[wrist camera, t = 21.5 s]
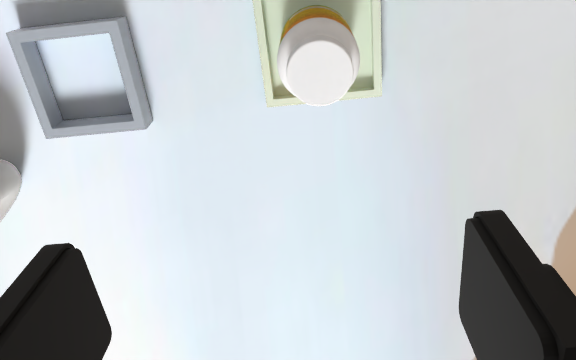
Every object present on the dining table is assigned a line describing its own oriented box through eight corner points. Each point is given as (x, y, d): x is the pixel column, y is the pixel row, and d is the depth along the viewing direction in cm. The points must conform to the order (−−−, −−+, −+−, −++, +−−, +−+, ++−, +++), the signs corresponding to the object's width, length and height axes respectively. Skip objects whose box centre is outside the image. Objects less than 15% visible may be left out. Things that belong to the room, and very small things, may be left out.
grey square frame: (20, 28, 36) (5, 32, 35) (125, 16, 36) (116, 20, 34) (57, 129, 40) (46, 138, 39) (153, 120, 40) (146, 129, 38)
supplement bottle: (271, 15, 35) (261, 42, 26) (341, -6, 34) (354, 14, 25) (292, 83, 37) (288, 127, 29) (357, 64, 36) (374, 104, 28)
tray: (252, -17, 34) (250, -16, 33) (376, -32, 34) (379, -31, 32) (268, 101, 39) (267, 107, 37) (379, 90, 38) (381, 96, 37)
